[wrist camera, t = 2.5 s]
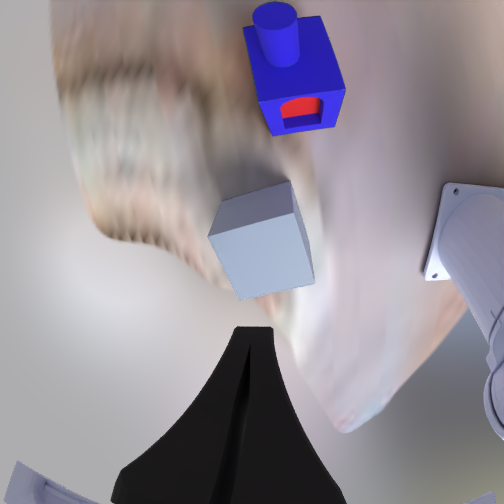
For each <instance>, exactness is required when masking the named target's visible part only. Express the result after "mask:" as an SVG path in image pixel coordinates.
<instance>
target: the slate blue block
mask: <svg viewBox="0 0 504 504" xmlns="http://www.w3.org/2000/svg"><path fill="white" fill-rule="evenodd" d="M208 239H209V241H210V243H211V245H212V247H213V249H214V251H215V253H216V255H217V257H218V259H219V261H220V263H221V265H222V267H223V269H224V271H225V273H226V275H227V277H228V279H229V281H230V283H231V285H232V287H233V289H234V291H235V293H236V295H237V297H238V299H239V300H243V299H248V298H253V297H258V296H262V295H267V294H272V293H276V292H281V291H285V290H290V289H294V288H298V287H303V286H307V285H311V284H315V278H314V271H313V264H312V258H311V251H310V244H309V240H308V236H307V233H306V229H305V226H304V223H303V219H302V216H301V213H300V210H299V206H298V203H297V200H296V197H295V194H294V190H293V187H292V184H291V181H288V182H284V183H281V184H277V185H274V186H270V187H267V188H264V189H260V190H257V191H254V192H250V193H247V194H244V195H240V196H237V197H234V198H231V199H228V200H224V201H222V202H221V205H220V207H219V210H218V212H217V214H216V217H215V219H214V222H213V224H212V227H211V229H210V232H209V234H208Z"/></svg>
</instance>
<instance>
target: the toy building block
mask: <svg viewBox="0 0 504 504" xmlns="http://www.w3.org/2000/svg"><path fill="white" fill-rule="evenodd" d="M253 22H254V25H253V26H248V27H243V32H244V37H245V41H246V46H247V51H248V55H249V60H250V64H251V69H252V74H253V79H254V84H255V88H256V93H257V98H258V103H259V105H260V108H261V110H262V112H263V115H264V117H265V119H266V122H267V124H268V127H269V129H270V131H271V134H272V136H279V135H285V134H291V133H297V132H303V131H310V130H317V129H324V128H332V127H335V124H336V121H337V118H338V115H339V111H340V108H341V105H342V101H343V98H344V95H345V91H346V88H345V84H344V81H343V78H342V75H341V72H340V69H339V66H338V63H337V60H336V57H335V54H334V51H333V48H332V45H331V42H330V40H329V37H328V34H327V32H326V29H325V27H324V24H323V21H322V19H321V17H320V16H311V17H302V18H297V13H296V11H295V9H294V8H293V7H292V6H290V5H289V4H287V3H283V2H275V1H274V2H268V3H265V4H262V5H260V6H259V7H258V8H256V9H255V11H254V13H253Z"/></svg>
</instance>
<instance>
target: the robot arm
mask: <svg viewBox="0 0 504 504" xmlns="http://www.w3.org/2000/svg"><path fill="white" fill-rule="evenodd" d="M456 188H457V190H456V192H455V193H454V190H455V189H456ZM434 273H435V274H434ZM433 274H434V275H433ZM423 277H424V279H425V280H426V281H432V280H446V279H452V280H453V282H454V284H455V285H456V287H457V289H458V290H459V292H460V294H461V295H462V297H463V299H464V300H465V302H466V304H467V305H468V307H469V309H470V311H471V313H472V314H473V316H474V318H475V320H476V322H477V323H478V325H479V327H480V329H481V331H482V333H483V335H484V337H485V339H486V341H487V343H488V345H489V347H490V351H489V354H488V355H487V357H486V361H487V363H488V366H489V368H490V370H491V373H490V375H489V377H488V379H487V381H486V384H485V388H484V406H485V411H486V414H487V417H488V420H489V422H490V424H491V426H492V428H493V429H494V431H495V432H496V433H497V434H498V436H500V437H501V438H502V439H503V440H504V188H498V187H489V186H480V185H471V184H460V183H447V184H445V185H444V187H443V191H442V197H441V202H440V207H439V212H438V217H437V222H436V226H435V231H434V235H433V239H432V243H431V247H430V251H429V255H428V258H427V262H426V266H425V269H424V273H423ZM4 501H5V502H6V503H7V504H99V503H97V502H94V501H92V500H90V499H88V498H85V497H83V496H81V495H79V494H77V493H74V492H72V491H70V490H68V489H66V488H65V487H64V486H62V485H60V484H58V483H56V482H54V481H52V480H51V479H49V478H47V477H45V476H43V475H41V474H39V473H37V472H36V471H34V470H32V469H31V468H29V467H27V466H26V465H24V464H22V463H21V462H19V461H17V462H16V465H15V468H14V471H13V473H12V476H11V479H10V482H9V485H8V488H7V491H6V495H5V498H4ZM111 502H112V503H114V504H347V503H346V501H345V499H344V496H343V494H342V491H341V489H340V488H339V486H338V485H337V484H336V482H335V481H334V480H333V478H332V477H331V475H330V474H329V472H328V471H327V469H326V468H325V466H324V465H323V463H322V462H321V460H320V458H319V457H318V455H317V453H316V452H315V450H314V448H313V446H312V444H311V443H310V441H309V439H308V437H307V436H306V434H305V432H304V430H303V428H302V426H301V424H300V422H299V419H298V417H297V415H296V413H295V410H294V408H293V406H292V403H291V401H290V398H289V396H288V393H287V390H286V388H285V385H284V382H283V379H282V375H281V372H280V368H279V366H278V361H277V357H276V352H275V346H274V332H273V328H271V327H240V326H237V327H236V328H235V329H234V331H233V334H232V336H231V339H230V341H229V343H228V345H227V347H226V349H225V351H224V353H223V355H222V357H221V359H220V361H219V362H218V364H217V366H216V368H215V369H214V371H213V373H212V375H211V376H210V378H209V379H208V381H207V382H206V384H205V385H204V387H203V388H202V390H201V391H200V393H199V394H198V395H197V397H196V398H195V400H194V401H193V402H192V404H191V405H190V406H189V407H188V409H187V410H186V411H185V412H184V413H183V415H182V416H181V417H180V418H179V419H178V420H177V421H176V423H175V424H174V425H173V426H172V427H171V428H170V429H169V430H168V431H167V432H166V433H165V434H164V435H163V436H162V437H161V438H160V439H159V440H158V441H157V442H156V443H154V444H153V445H152V446H151V447H150V448H149V449H148V450H147V451H145V452H144V453H143V454H142V455H141V456H139V457H138V458H137V459H135V460H134V461H133V462H131V463H130V464H129V465H127V466H126V467H124V468H123V469H122V470H121V471H120V474H119V476H118V478H117V480H116V482H115V486H114V489H113V493H112V497H111ZM463 504H496V501H495V493H494V491H491V492H489V493H486V494H484V495H482V496H480V497H478V498H476V499H474V500H471V501H468V502H465V503H463Z"/></svg>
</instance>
